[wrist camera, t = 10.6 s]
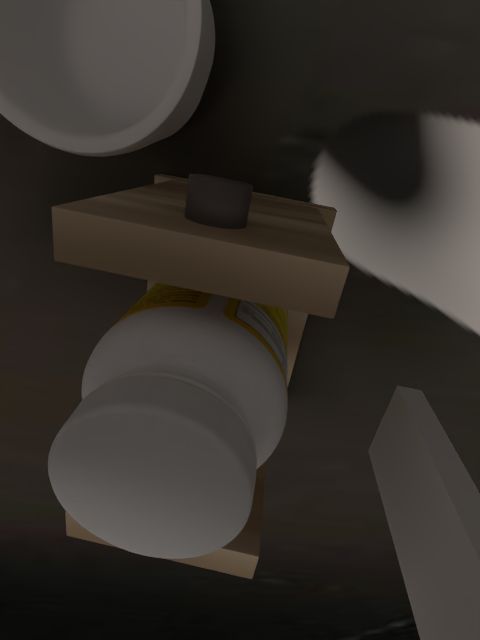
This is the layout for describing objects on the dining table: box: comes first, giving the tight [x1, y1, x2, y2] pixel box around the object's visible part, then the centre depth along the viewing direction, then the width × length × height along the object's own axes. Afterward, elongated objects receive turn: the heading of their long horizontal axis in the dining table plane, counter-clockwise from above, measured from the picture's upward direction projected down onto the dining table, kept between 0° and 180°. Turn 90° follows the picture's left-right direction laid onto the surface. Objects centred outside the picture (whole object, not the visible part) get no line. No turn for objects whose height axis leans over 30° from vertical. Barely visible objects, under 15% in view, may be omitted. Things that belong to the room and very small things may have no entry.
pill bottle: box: [48, 282, 288, 559], centre depth 13 cm, size 6×6×11 cm
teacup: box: [0, 0, 215, 157], centre depth 13 cm, size 10×8×5 cm
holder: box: [52, 174, 350, 579], centre depth 15 cm, size 13×8×10 cm, turn 170°
